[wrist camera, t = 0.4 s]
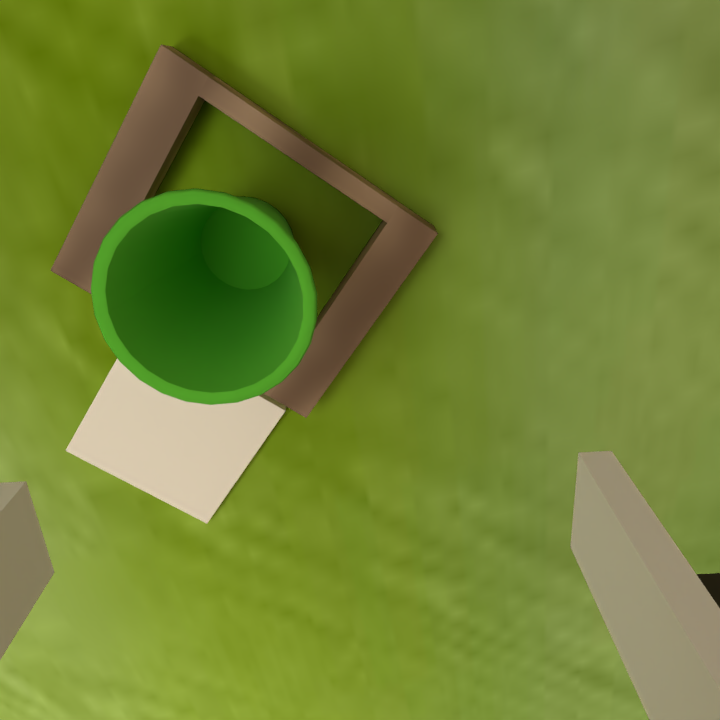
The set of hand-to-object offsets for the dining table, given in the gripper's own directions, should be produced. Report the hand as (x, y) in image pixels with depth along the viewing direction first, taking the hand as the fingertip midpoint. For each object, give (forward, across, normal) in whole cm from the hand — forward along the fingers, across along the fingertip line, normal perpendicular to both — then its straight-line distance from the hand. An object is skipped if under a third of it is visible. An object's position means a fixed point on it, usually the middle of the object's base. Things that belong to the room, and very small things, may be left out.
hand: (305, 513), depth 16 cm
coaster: (+23, -11, -10) cm, 27 cm away
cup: (+23, -5, +2) cm, 23 cm away
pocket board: (+23, -5, +2) cm, 23 cm away
